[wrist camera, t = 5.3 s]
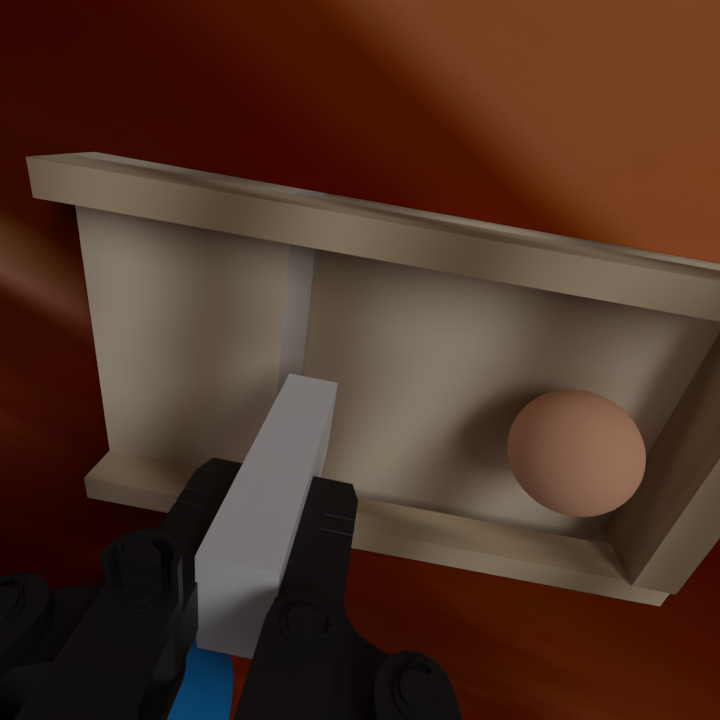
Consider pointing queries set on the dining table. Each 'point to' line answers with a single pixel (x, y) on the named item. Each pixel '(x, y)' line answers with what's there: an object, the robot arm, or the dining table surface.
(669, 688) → the dining table surface
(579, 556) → the lane
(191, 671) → the alarm clock
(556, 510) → the ball
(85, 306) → the dining table surface
